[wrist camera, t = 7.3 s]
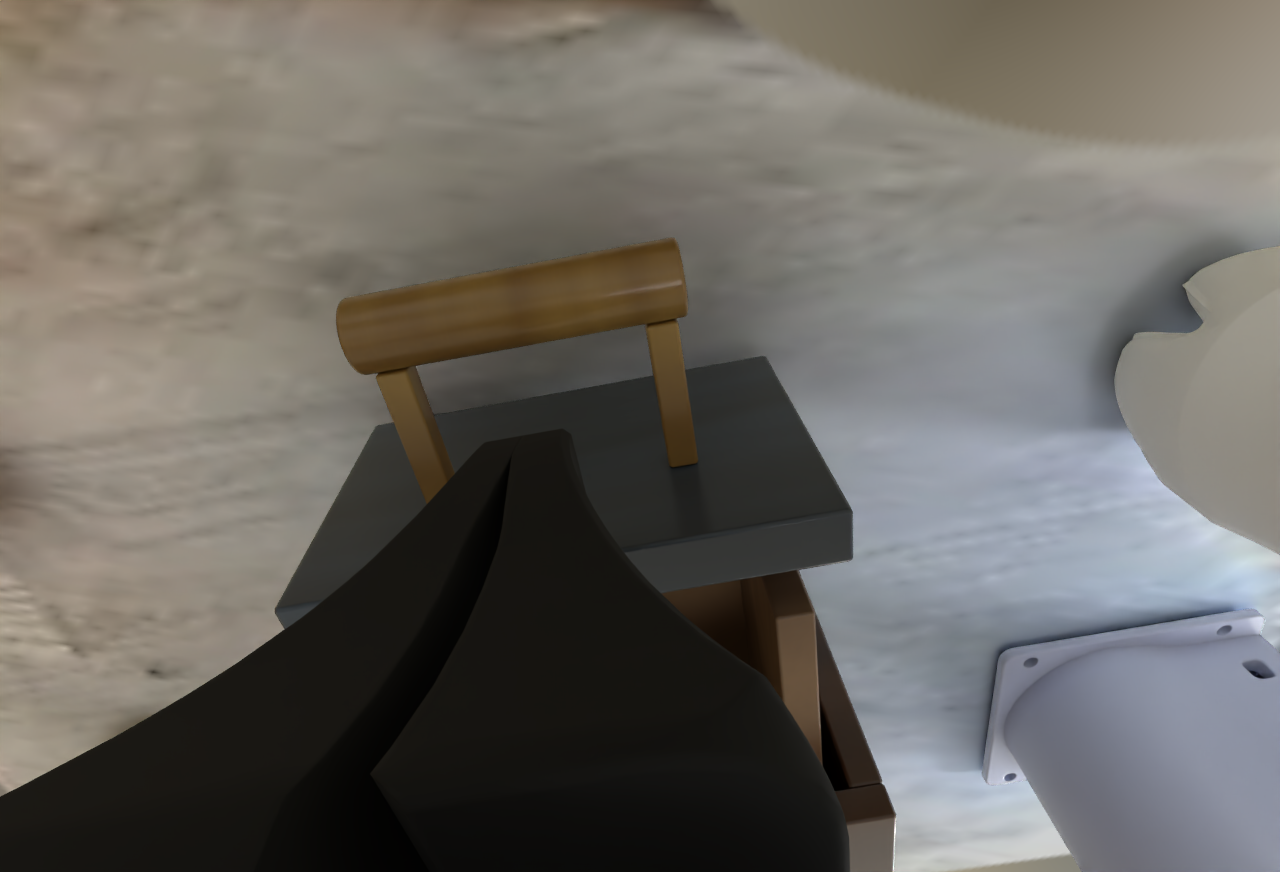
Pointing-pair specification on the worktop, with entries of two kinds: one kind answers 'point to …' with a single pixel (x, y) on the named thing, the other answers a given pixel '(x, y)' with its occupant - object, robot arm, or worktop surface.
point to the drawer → (606, 451)
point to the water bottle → (1215, 397)
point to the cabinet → (853, 770)
